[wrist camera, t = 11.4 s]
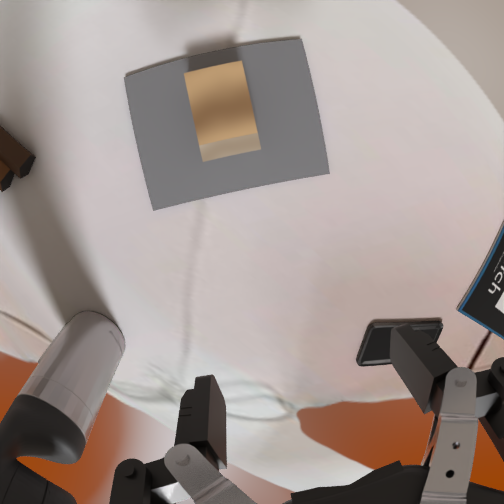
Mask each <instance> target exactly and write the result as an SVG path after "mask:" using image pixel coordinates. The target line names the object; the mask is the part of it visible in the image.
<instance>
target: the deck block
mask: <svg viewBox="0 0 504 504" xmlns="http://www.w3.org/2000/svg"><path fill="white" fill-rule="evenodd" d="M184 77H185V82H186V87H187V91H188V96H189V101H190V106H191V110H192V115H193V120H194V124H195V129H196V133H197V138H198V142H199V147H200V152H201V156H202V161H203V162H205V161H209V160H213V159H218V158H222V157H227V156H231V155H236V154H241V153H245V152H250V151H255V150H260V149H261V146H260V141H259V136H258V132H257V127H256V123H255V118H254V113H253V109H252V104H251V100H250V95H249V90H248V86H247V82H246V77H245V73H244V68H243V64H242V61H237V62H231V63H226V64H221V65H217V66H212V67H208V68H203V69H199V70H195V71H191V72H187V73H184Z"/></svg>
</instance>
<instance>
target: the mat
mask: <svg viewBox="0 0 504 504" xmlns="http://www.w3.org/2000/svg"><path fill="white" fill-rule="evenodd" d="M237 61H242V64H243V68H244V73H245V77H246V82H247V86H248V90H249V95H250V100H251V104H252V109H253V113H254V118H255V123H256V127H257V132H258V136H259V141H260V146H261V149H260V150H255V151H250V152H245V153H241V154H236V155H231V156H227V157H222V158H218V159H213V160H209V161H205V162H203V161H202V156H201V152H200V147H199V142H198V138H197V133H196V129H195V124H194V120H193V115H192V110H191V106H190V101H189V96H188V91H187V87H186V82H185V77H184V73H187V72H191V71H195V70H199V69H203V68H208V67H212V66H217V65H221V64H226V63H231V62H237ZM124 81H125V87H126V93H127V98H128V104H129V109H130V114H131V119H132V124H133V129H134V134H135V138H136V143H137V147H138V152H139V156H140V160H141V165H142V169H143V173H144V177H145V181H146V185H147V189H148V193H149V197H150V200H151V204H152V208H153V211H155V210H158V209H162V208H166V207H170V206H174V205H178V204H182V203H186V202H191V201H195V200H199V199H203V198H208V197H212V196H217V195H221V194H226V193H230V192H235V191H239V190H244V189H249V188H254V187H259V186H264V185H269V184H274V183H279V182H285V181H290V180H296V179H301V178H307V177H313V176H319V175H325V174H330V172H329V166H328V159H327V153H326V148H325V142H324V136H323V131H322V126H321V120H320V115H319V110H318V106H317V101H316V96H315V92H314V87H313V83H312V78H311V74H310V70H309V66H308V62H307V58H306V54H305V50H304V46H303V42H302V39H295V40H283V41H274V42H266V43H258V44H251V45H245V46H239V47H233V48H228V49H223V50H218V51H213V52H208V53H204V54H200V55H195V56H191V57H187V58H184V59H180V60H176V61H173V62H169V63H166V64H162V65H159V66H156V67H153V68H150V69H147V70H144V71H141V72H138V73H135V74H132V75H129V76H127V77H124Z"/></svg>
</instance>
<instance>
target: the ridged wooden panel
mask: <svg viewBox="0 0 504 504" xmlns="http://www.w3.org/2000/svg"><path fill="white" fill-rule="evenodd" d="M35 158H36V157H35V156H34V155H33V154H32V153H30V152H29V151H28V150H27V149H26V148H25V147H23V146H22V145H21V144H20V143H19V142H18V141H17V140H15V139H14V138H13V137H12V136H11V135H10V134H9V133H8V132H6V131H5V130H4V129H3V128H2V127H1V126H0V190H1V191H2V192H3V191H4V190H6V189H7V188H9V187H10V185H11V182H12V179H13V177H14V174H16V175H17V176H18V177H19V178H20V179H21V178H23V177H24V176H26V175H28V174H29V172H30V169H31V167H32V165H33V162H34V160H35Z"/></svg>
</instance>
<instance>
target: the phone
mask: <svg viewBox="0 0 504 504" xmlns="http://www.w3.org/2000/svg"><path fill="white" fill-rule="evenodd" d="M405 323H408V324H409V325H410V326H411V327H412V328H413V329H414V330H415V331H418V330H421V331H423V332H425V333H427V334H429V335H430V336H431V338H432V339H433V340H434V341H435V343H436V342H437V340H438V338H439V336H440V334H441V331H442V329H443V324H442V323H441V322H440V321H421V322H392V323H373V324H371V325H370V326H369V327H368V328H367V330H366V333H365V336H364V339H363V342H364V344H363V342H362V345H363V346H362V345H361V347H360V350H359V353H358V355H357V358H356V362H357V364H358V365H359V366H376V365H387V364H392V363H391V359H390V339H391V329H392V328H394V327H397V326H400V325H403V324H405Z"/></svg>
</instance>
